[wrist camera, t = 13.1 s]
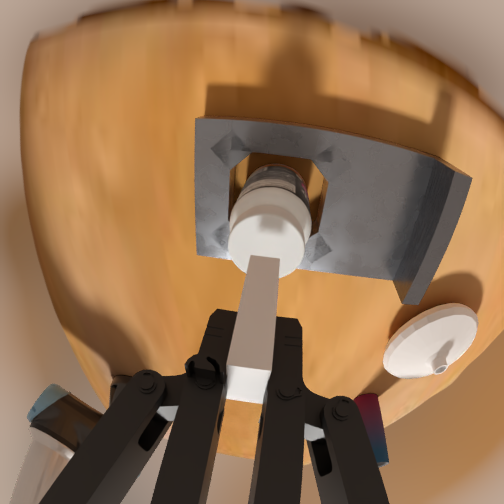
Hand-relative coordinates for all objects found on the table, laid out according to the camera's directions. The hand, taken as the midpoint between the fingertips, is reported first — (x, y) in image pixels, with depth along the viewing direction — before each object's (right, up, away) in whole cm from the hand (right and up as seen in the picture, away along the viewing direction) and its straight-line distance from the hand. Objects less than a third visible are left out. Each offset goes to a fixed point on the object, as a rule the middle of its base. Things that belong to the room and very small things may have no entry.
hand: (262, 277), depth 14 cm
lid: (+25, -10, +18) cm, 33 cm away
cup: (+22, -27, +30) cm, 46 cm away
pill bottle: (+2, +7, +10) cm, 13 cm away
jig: (+6, +6, +10) cm, 13 cm away
